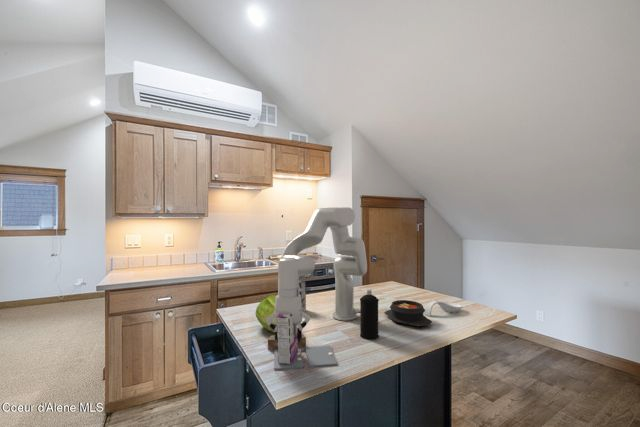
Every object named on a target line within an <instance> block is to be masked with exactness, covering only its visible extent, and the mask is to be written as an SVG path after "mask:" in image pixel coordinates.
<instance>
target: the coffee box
mask: <svg viewBox="0 0 640 427" xmlns="http://www.w3.org/2000/svg"><path fill="white" fill-rule="evenodd" d="M306 284H307V283H306V281H304V280H299V288H302V289H303V292H300V293H299V294H300V295H301V302H302V311H303V312H304V313H305V311H307V304H306V303H307V299H306V298H307V295H306V294H307V293H306V292H307V287H306V286H307V285H306Z"/></svg>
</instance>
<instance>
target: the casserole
mask: <svg viewBox="0 0 640 427" xmlns="http://www.w3.org/2000/svg"><path fill="white" fill-rule="evenodd" d="M424 312H425V307H424V305H423V304H422V303H420V302H418V301H413V300H408V299H398V300H397V299H396V300H394V301H392V302H391V305H390V306H389V309H387V310H386V311H384V312H383V313H384V314H385V315H386V316H387V317H388V318H389V319H391V320H392V321H394V322H397V323H399V324H403V325H408V326H409V325H410V326H415V327H425V326H429V325H431V324H432V323H433V320H431V319H430V318H428V317H427V316H425V314H424Z"/></svg>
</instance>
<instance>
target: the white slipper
mask: <svg viewBox="0 0 640 427" xmlns="http://www.w3.org/2000/svg"><path fill="white" fill-rule="evenodd" d="M435 305H438V306H439V308H441V309H442V310H443V312H446V313H449V314H450V313H452V314H455V313H457V312H459V311H460V310H462V308H463V306H462V305H461V304H458V303H456V302H449V301H438V300H435V299H433V300H430V301H429V302H428V303H427V305H426V306H425V307H424V309H425V312H424V313H423V315H424V316H425V315H426V316H427V317H432V309H433V307H434V306H435Z"/></svg>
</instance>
